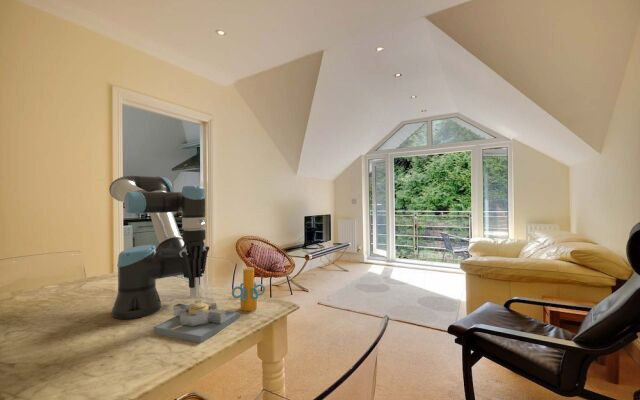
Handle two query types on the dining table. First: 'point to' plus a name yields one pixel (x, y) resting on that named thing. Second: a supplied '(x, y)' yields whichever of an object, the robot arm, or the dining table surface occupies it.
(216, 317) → the grey curved saddle piece
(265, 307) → the dining table surface
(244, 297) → the orange post with rings
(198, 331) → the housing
